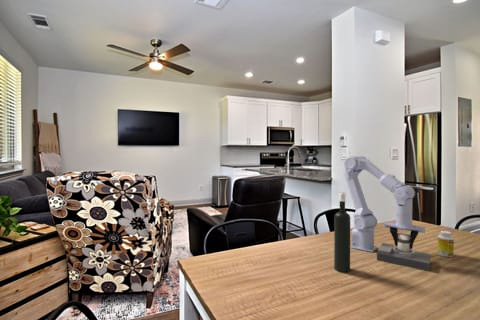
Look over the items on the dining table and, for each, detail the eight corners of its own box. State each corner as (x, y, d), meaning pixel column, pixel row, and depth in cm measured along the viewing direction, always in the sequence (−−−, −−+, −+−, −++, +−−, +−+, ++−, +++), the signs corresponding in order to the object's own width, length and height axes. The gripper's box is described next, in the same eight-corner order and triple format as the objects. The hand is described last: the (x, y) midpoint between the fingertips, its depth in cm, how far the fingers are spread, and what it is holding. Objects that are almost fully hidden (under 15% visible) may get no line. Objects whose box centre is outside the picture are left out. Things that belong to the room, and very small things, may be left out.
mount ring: (391, 254, 109) (391, 250, 109) (394, 248, 115) (394, 245, 115) (414, 258, 104) (414, 254, 104) (415, 252, 110) (415, 249, 110)
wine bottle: (349, 267, 104) (349, 191, 103) (350, 273, 98) (351, 193, 97) (334, 265, 105) (334, 191, 105) (334, 271, 100) (334, 193, 99)
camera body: (376, 259, 111) (377, 250, 110) (382, 251, 120) (382, 242, 120) (429, 271, 100) (429, 260, 99) (430, 261, 109) (430, 251, 109)
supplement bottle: (450, 258, 112) (451, 234, 111) (435, 254, 116) (435, 231, 116) (455, 255, 115) (455, 232, 114) (440, 251, 119) (440, 229, 119)
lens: (395, 251, 109) (395, 234, 109) (398, 248, 113) (398, 232, 113) (409, 254, 106) (409, 237, 106) (411, 251, 110) (411, 234, 109)
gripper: (382, 214, 111) (382, 246, 111) (424, 219, 102) (424, 253, 102) (385, 211, 116) (385, 241, 116) (425, 215, 107) (425, 248, 108)
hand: (403, 247), depth 110 cm, fingers closed on lens, 5 cm apart
